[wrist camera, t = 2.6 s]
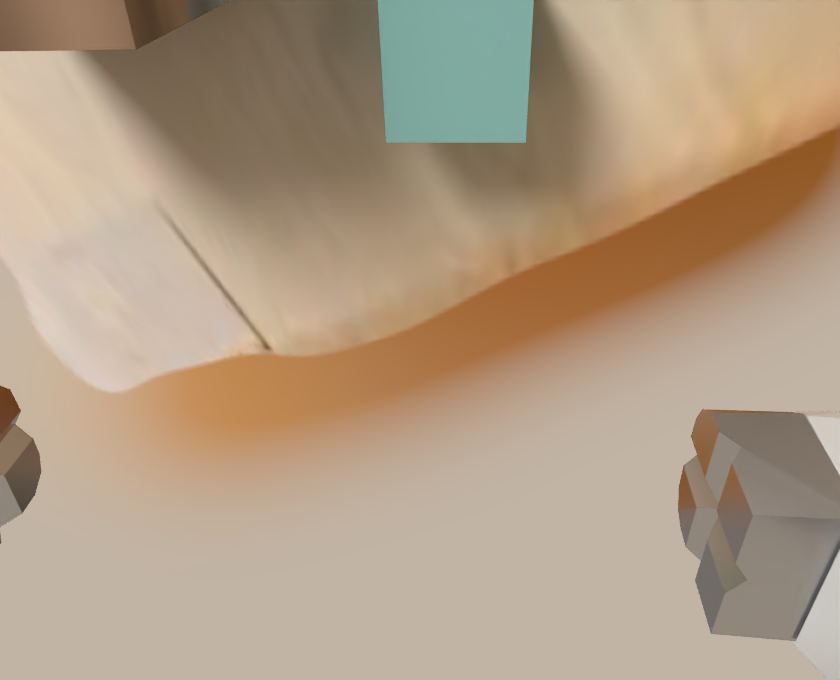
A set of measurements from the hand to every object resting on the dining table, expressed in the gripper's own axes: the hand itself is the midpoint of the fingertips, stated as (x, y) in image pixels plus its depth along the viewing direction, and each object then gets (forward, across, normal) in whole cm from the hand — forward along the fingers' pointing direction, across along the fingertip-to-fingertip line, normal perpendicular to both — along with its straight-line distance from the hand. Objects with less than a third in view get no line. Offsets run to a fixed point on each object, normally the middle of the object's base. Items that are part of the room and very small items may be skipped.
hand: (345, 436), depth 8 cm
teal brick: (+24, -1, 0) cm, 25 cm away
